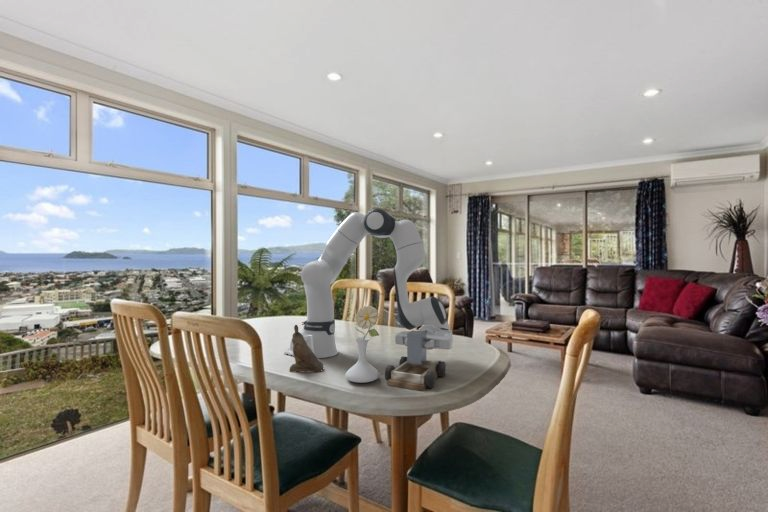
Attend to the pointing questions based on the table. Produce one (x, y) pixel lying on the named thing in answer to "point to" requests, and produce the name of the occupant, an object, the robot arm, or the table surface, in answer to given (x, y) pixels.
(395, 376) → the chassis
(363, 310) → the flower in vase
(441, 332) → the robot arm
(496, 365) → the table surface
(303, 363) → the brown carved statuette
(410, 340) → the block
